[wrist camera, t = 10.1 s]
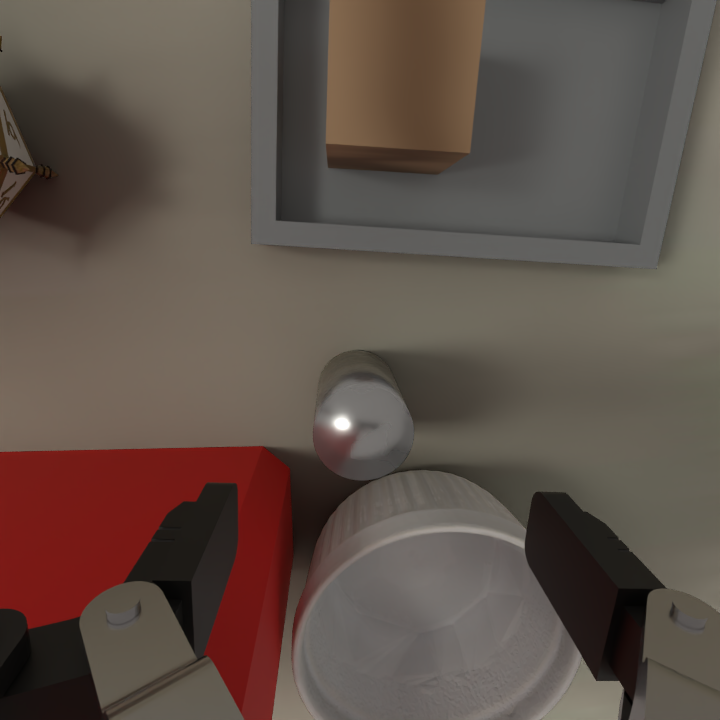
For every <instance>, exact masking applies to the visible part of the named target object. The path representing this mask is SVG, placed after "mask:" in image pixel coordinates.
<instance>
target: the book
mask: <svg viewBox="0 0 720 720" xmlns="http://www.w3.org/2000/svg"><path fill="white" fill-rule="evenodd" d="M207 482H217V483H236V484H237V488H238V546H237V553H236V558H235V561H234V564H233V567H232V570H231V573H230V576H229V579H228V582H227V586H226V589H225V592H224V595H223V598H222V601H221V604H220V607H219V610H218V613H217V616H216V619H215V622H214V625H213V628H212V631H211V634H210V637H209V640H208V643H207V646H206V649H205V652H204V655H207V656H208V657H209V658H210V659H211V660H212V661H213V663H214V665H215V666H216V668H217V670H218V672H219V674H220V676H221V677H222V679H223V681H224V683H225V685H226V687H227V688H228V690H229V692H230V694H231V696H232V698H233V699H234V701H235V703H236V705H237V707H238V709H239V710H240V712H241V714H242V716H243V718H244V720H272V714H273V706H274V698H275V691H276V683H277V676H278V668H279V660H280V653H281V645H282V638H283V630H284V623H285V615H286V607H287V600H288V592H289V585H290V577H291V569H292V562H293V531H292V507H291V483H290V468H289V467H288V466H286V465H285V464H284V463H283V462H282V461H280V460H279V459H278V458H277V457H275V456H274V455H273V454H272V453H271V452H269V451H268V450H267V449H266V448H265V447H263V446H249V447H204V448H159V449H114V450H69V451H23V452H0V609H3V608H4V609H14V610H18V611H20V612H22V613H23V614H24V615H25V617H26V619H27V624H28V629H31V628H35V627H39V626H44V625H48V624H52V623H57V622H61V621H65V620H69V619H73V618H76V617H79V616H81V614H82V612H83V610H84V609H85V607H86V606H87V605H88V604H89V603H90V602H91V601H92V600H93V599H94V598H95V597H96V596H98V595H99V594H101V593H102V592H104V591H106V590H107V589H110V588H112V587H114V586H117V585H120V584H123V583H124V581H125V579H126V578H127V576H128V575H129V573H130V572H131V570H132V568H133V567H134V565H135V564H136V562H137V561H138V559H139V557H140V556H141V554H142V553H143V551H144V550H145V548H146V546H147V545H148V543H149V542H151V539H152V537H153V535H154V534H155V532H156V531H157V530H158V529H159V526H160V524H161V523H162V521H163V520H164V518H165V517H166V515H167V513H168V512H170V511H171V510H173V509H174V508H175V507H177V506H178V505H179V504H181V503H182V502H183V501H193V502H196V501H197V499H198V497H199V495H200V493H201V492H202V490H203V488H204V486H205V484H206V483H207ZM204 655H203V656H204Z"/></svg>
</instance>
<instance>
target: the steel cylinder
mask: <svg viewBox="0 0 720 720" xmlns="http://www.w3.org/2000/svg"><path fill="white" fill-rule="evenodd" d="M413 440H414V425H413V421H412V418H411V415H410V413H409V410H408V408H407V406H406V404H405V401H404V399H403V397H402V395H401V392H400V390H399V388H398V386H397V383H396V381H395V379H394V377H393V374H392V372H391V370H390V368H389V367H388V365H387V364H386V363H385V362H384V361H383V360H382V359H381V358H380V357H378V356H376V355H375V354H372V353H370V352H366V351H360V350H353V351H348V352H344V353H342V354H339V355H338V356H336V357H334V358H333V359H332V360H330V361H329V362H328V363H327V365H326V366H325V367H324V369H323V371H322V373H321V375H320V379H319V385H318V393H317V402H316V410H315V419H314V428H313V442H314V446H315V450H316V452H317V454H318V456H319V458H320V459H321V461H322V462H323V463H324V464H325V465H326V467H328V468H329V469H330V470H331V471H333V472H334V473H336V474H338V475H340V476H342V477H344V478H347V479H352V480H360V481H363V480H373V479H377V478H380V477H383V476H385V475H387V474H389V473H391V472H392V471H394V470H395V469H396V468H398V467H399V466H400V465H401V464H402V463H403V461H404V460H405V459H406V457H407V456H408V454H409V452H410V450H411V447H412V444H413Z"/></svg>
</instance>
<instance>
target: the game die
mask: <svg viewBox="0 0 720 720" xmlns="http://www.w3.org/2000/svg"><path fill="white" fill-rule="evenodd" d="M1 41H2V36H0V51H1V52H2V50H1ZM34 174H37V175H39V176H40V177H41V178H42V177H45V178H46V179H50V178H51V177H54V176H58V175H57V174H56V173H55V172H54V171H52V169H51V168H50V167H49V166H47V167H45V166H43V165H41V166H36V165H35V164H34V161H33V159H32V157H31V154H30V152H29V150H28V148H27V145H26V143H25V141H24V138H23V136H22V134H21V132H20V129H19V127H18V125H17V122H16V120H15V118H14V116H13V113H12V111H11V109H10V107H9V104H8V102H7V100H6V97H5V95H4V93H3V91H2V88H1V86H0V218H1V217H2V215H3V214H4V213H5V211H6V210H7V209H8V208H9V206H10V205H11V204H12V202H13V201H14V200H15V199H16V197H17V196H18V195H19V193H20V192H21V191H22V189H23V188H24V187H25V186H26V184H27V183H28V182H29V180H30V179H31V178H32V177H33V175H34Z"/></svg>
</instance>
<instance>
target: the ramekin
mask: <svg viewBox="0 0 720 720" xmlns="http://www.w3.org/2000/svg"><path fill="white" fill-rule="evenodd" d="M526 531H527V530H526V529H525V528H524V527H523V526H522V525H521V523H520V522H519V521H518V520H517V519H516V518H515V517H514V516H513V515H512V514H511V512H510V511H509V510H508V509H507V508H506V507H505V506H504V505H503V504H502V503H500V502H499V501H498V500H497V499H495V498H494V497H493V496H492V495H491V494H490V493H489V492H488V491H486V490H484V489H482V488H480V487H479V486H478V485H477V484H475V483H473V482H470V481H468V480H467V479H465V478H463V477H459V476H456V475H454V474H451V473H444V472H441V471H428V470H417V471H406V472H399V473H395V474H392V475H388V476H384V477H382V478H380V479H377V480H375V481H372V482H370V483H369V484H367V485H365V486H363V487H361V488H360V489H358V490H357V491H356V492H354V493H353V494H351V495H350V496H348V498H347V499H346V500H345V501H343V502H342V503H341V504H340V505H339V506H338V508H337V509H336V511H335V512H334V513H333V514H332V515H331V516H330V517H329V519H328V522H327V523H326V524H325V525H324V527H323V529H322V531H321V535H320V537H319V538H318V540H317V542H316V546H315V549H314V553H313V557H312V560H311V564H310V568H309V572H308V576H307V581H306V586H305V588H304V591H303V593H302V595H301V598H300V601H299V603H298V606H297V609H296V613H295V617H294V623H293V630H292V670H293V675H294V681H295V684H296V687H297V690H298V693H299V695H300V697H301V699H302V701H303V703H304V705H305V707H306V708H307V710H308V711H309V713H310V714H311V715H312V717H313V718H314V719H315V720H541V719H542V718H543V717H544V716H545V715H546V714H548V713H549V712H550V711H551V710H552V709H553V708H554V706H555V705H556V704H557V703H558V702H559V700H560V699H561V698H562V696H563V695H564V694H565V692H566V691H567V689H568V688H569V686H570V685H571V683H572V680H573V679H574V677H575V675H576V673H577V670H578V668H579V665H580V662H581V659H582V656H581V654H580V652H579V650H578V649H577V647H576V645H575V644H574V642H573V640H572V639H571V637H570V635H569V633H568V632H567V630H566V628H565V627H564V625H563V623H562V621H561V620H560V618H559V616H558V615H557V613H556V611H555V610H554V608H553V606H552V604H551V603H550V601H549V599H548V598H547V596H546V594H545V593H544V591H543V589H542V587H541V586H540V584H539V582H538V581H537V579H536V577H535V576H534V574H533V572H532V570H531V569H530V567H529V565H528V563H527V559H526V555H525V537H526Z"/></svg>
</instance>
